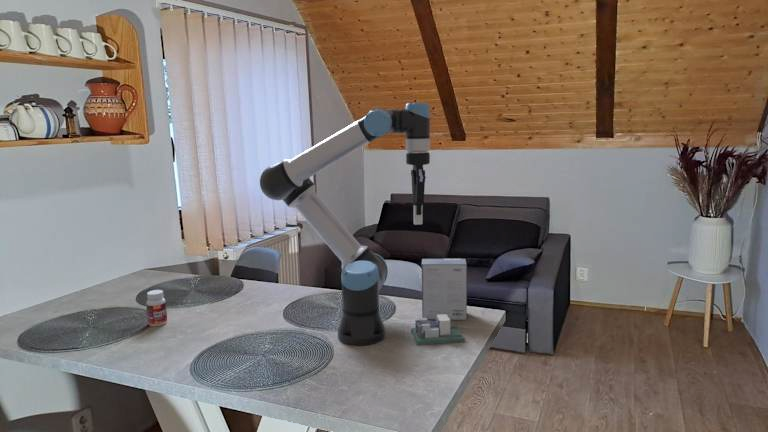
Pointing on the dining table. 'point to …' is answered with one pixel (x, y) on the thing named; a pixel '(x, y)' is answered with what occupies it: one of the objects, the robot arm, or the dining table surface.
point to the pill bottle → (156, 308)
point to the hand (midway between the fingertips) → (418, 223)
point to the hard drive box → (444, 288)
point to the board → (438, 339)
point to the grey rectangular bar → (435, 323)
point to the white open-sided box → (444, 324)
